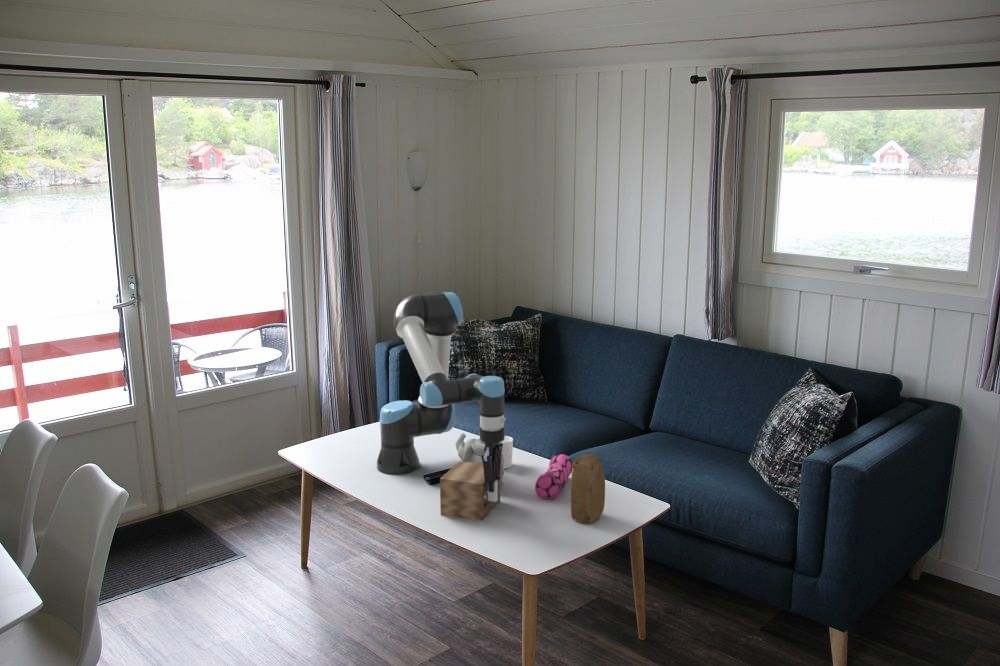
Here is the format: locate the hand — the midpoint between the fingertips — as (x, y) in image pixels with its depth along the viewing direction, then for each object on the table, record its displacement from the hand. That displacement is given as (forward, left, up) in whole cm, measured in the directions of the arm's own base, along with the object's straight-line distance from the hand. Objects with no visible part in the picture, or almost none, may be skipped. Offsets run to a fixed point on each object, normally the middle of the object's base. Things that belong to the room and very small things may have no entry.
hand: (492, 500), depth 266 cm
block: (+28, +8, -6) cm, 30 cm away
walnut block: (-9, +4, -5) cm, 11 cm away
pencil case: (+12, +28, -6) cm, 31 cm away
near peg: (-9, 0, -1) cm, 9 cm away
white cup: (-12, +42, -6) cm, 44 cm away
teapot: (-14, +24, -6) cm, 29 cm away
